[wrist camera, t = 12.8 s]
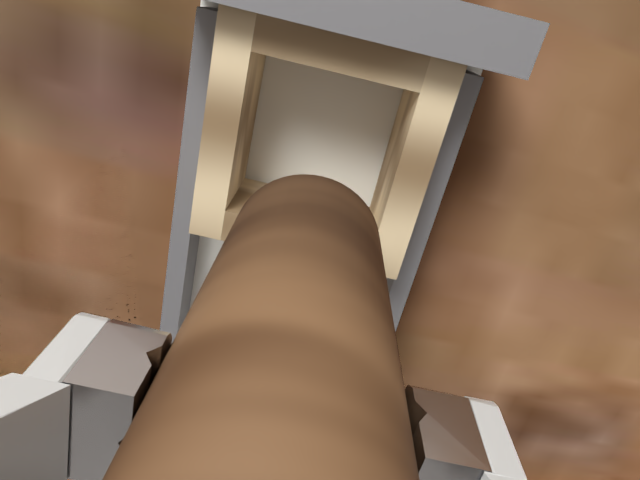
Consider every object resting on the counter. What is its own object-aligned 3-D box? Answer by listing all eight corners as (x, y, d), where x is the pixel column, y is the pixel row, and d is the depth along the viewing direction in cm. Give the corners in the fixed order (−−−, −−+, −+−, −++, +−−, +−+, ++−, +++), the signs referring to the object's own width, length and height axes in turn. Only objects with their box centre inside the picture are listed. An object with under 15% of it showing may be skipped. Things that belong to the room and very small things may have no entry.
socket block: (388, 237, 29) (396, 279, 24) (214, 197, 28) (188, 233, 24) (445, 53, 25) (468, 63, 20) (242, 3, 24) (218, 1, 20)
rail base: (374, 365, 34) (381, 460, 27) (169, 321, 34) (120, 406, 27) (491, 19, 25) (549, 23, 18) (215, -51, 25) (160, -76, 17)
